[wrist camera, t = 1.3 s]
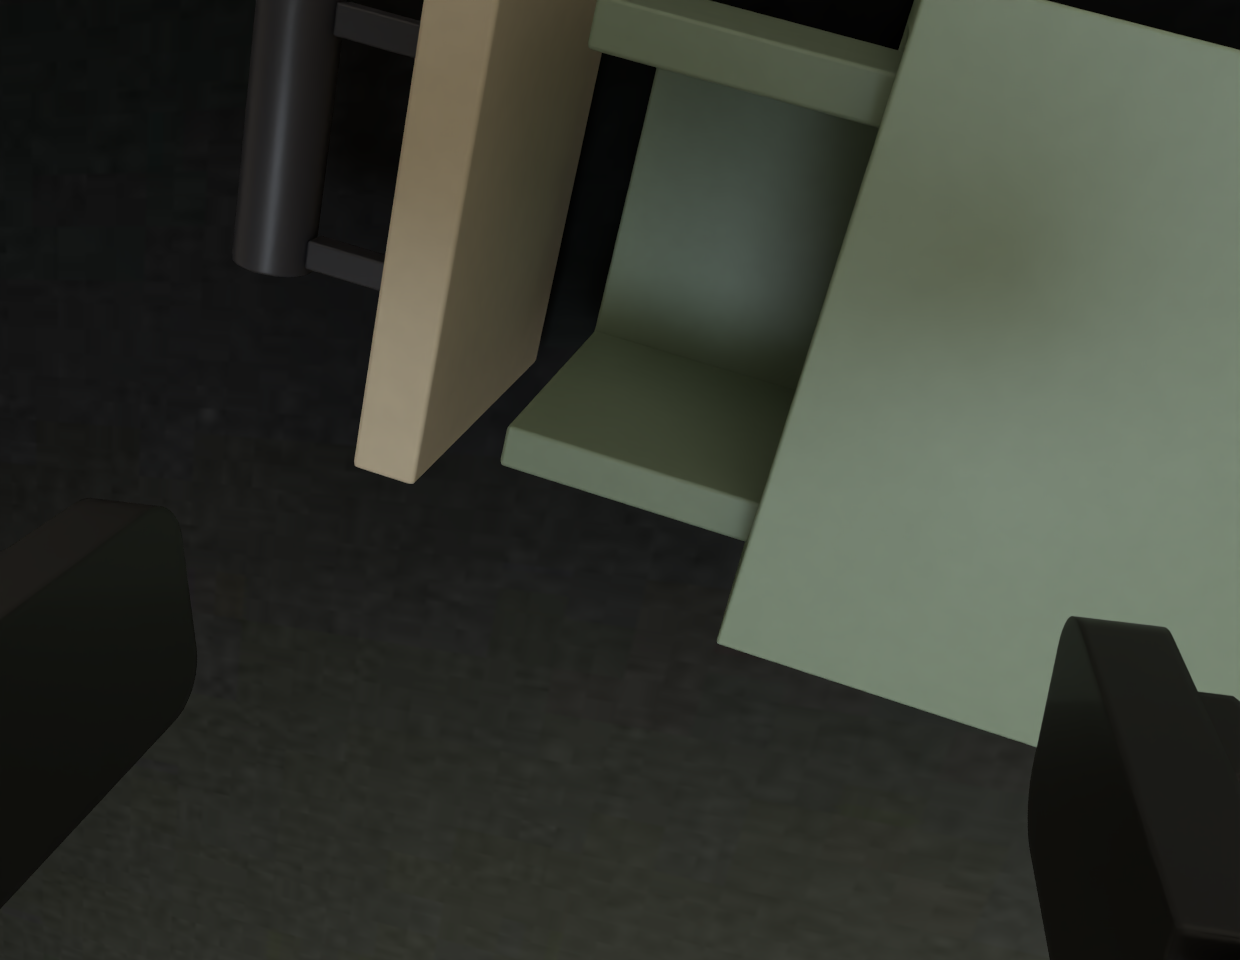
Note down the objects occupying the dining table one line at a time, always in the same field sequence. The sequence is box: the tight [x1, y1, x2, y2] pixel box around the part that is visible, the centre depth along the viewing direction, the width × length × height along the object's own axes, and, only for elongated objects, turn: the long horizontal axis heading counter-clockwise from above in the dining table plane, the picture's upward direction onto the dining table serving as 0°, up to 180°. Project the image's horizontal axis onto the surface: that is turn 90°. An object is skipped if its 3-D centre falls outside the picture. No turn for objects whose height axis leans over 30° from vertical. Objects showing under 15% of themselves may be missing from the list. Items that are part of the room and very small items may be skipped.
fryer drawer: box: [232, 0, 903, 542], centre depth 22 cm, size 19×10×8 cm, turn 77°
